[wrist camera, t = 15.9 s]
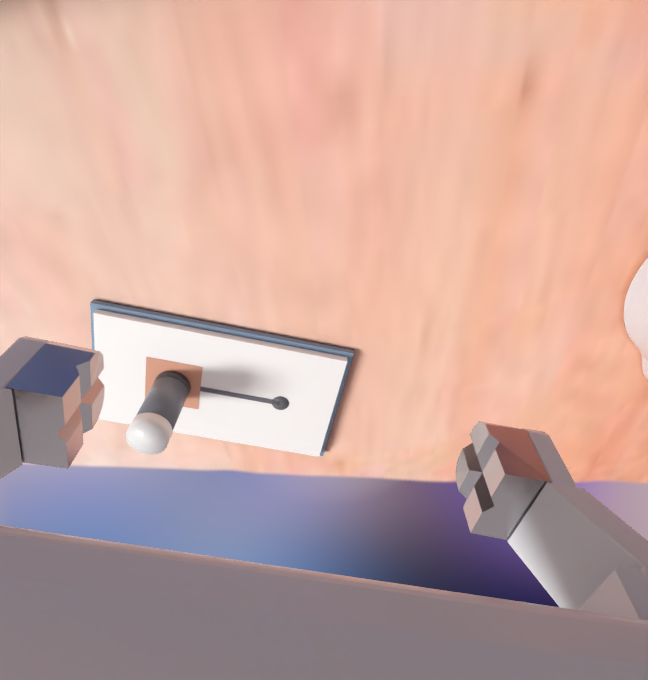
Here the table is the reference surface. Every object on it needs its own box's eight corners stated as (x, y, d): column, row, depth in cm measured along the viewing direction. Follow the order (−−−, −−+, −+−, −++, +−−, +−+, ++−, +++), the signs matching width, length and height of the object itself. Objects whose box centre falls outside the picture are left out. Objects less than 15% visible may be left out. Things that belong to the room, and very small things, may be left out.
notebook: (353, 350, 45) (354, 358, 44) (323, 451, 51) (322, 461, 50) (93, 299, 42) (86, 307, 41) (97, 413, 49) (91, 422, 48)
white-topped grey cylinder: (193, 376, 45) (169, 430, 39) (188, 402, 46) (164, 458, 41) (157, 366, 44) (127, 420, 38) (153, 393, 46) (124, 448, 40)
